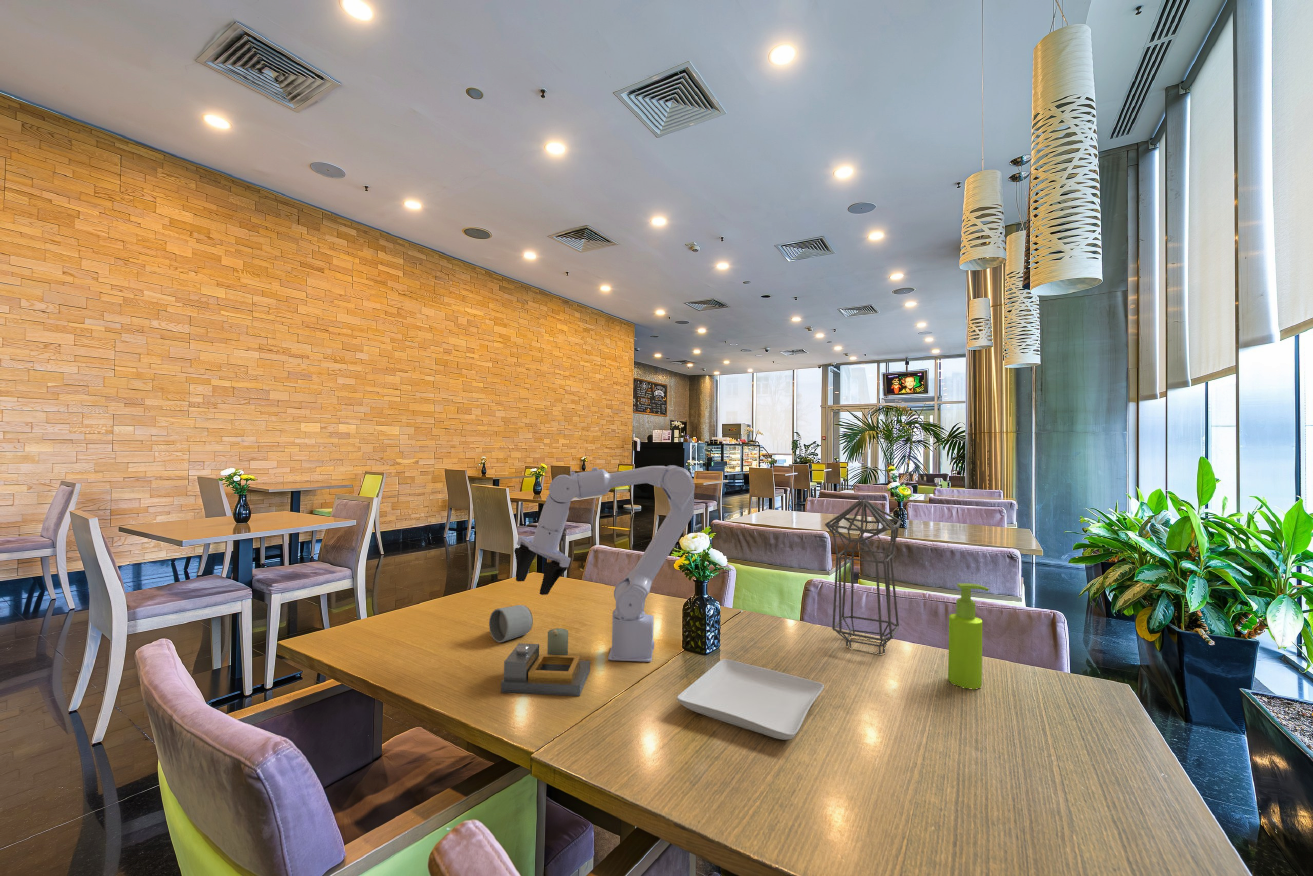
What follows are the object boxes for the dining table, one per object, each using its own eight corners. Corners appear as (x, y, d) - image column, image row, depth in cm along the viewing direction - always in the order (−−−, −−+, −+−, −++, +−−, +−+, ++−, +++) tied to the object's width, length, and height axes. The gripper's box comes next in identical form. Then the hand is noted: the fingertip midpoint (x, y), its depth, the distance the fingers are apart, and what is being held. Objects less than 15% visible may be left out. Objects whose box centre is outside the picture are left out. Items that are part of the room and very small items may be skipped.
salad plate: (825, 699, 100) (826, 681, 100) (793, 756, 82) (794, 733, 82) (722, 672, 111) (722, 656, 111) (673, 717, 92) (674, 697, 92)
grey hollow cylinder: (535, 636, 128) (535, 604, 128) (506, 646, 122) (507, 612, 122) (508, 627, 135) (509, 596, 135) (480, 636, 128) (480, 604, 129)
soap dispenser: (992, 691, 103) (993, 589, 104) (953, 687, 105) (955, 587, 105) (980, 678, 109) (981, 581, 109) (944, 675, 111) (945, 579, 111)
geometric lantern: (896, 666, 115) (894, 505, 115) (823, 651, 123) (821, 501, 123) (905, 642, 128) (903, 498, 129) (838, 630, 137) (837, 495, 137)
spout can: (569, 655, 117) (570, 621, 117) (563, 666, 111) (564, 630, 111) (550, 655, 117) (550, 620, 117) (543, 666, 112) (543, 629, 112)
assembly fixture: (589, 670, 110) (590, 638, 110) (579, 696, 99) (580, 660, 99) (518, 667, 110) (519, 635, 110) (500, 692, 99) (501, 657, 99)
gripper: (515, 516, 117) (496, 575, 116) (562, 538, 109) (542, 601, 108) (537, 518, 123) (519, 574, 122) (583, 539, 115) (564, 599, 114)
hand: (531, 587), depth 116 cm, fingers open, 7 cm apart
